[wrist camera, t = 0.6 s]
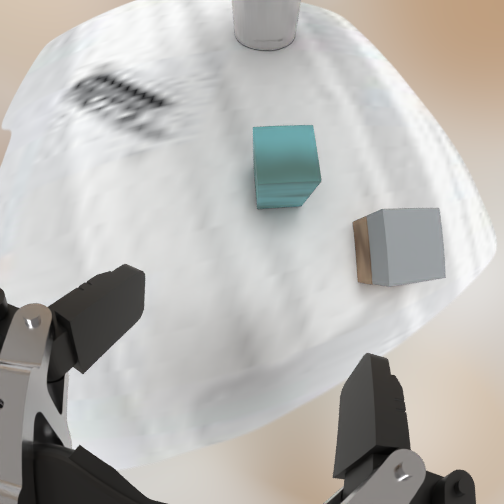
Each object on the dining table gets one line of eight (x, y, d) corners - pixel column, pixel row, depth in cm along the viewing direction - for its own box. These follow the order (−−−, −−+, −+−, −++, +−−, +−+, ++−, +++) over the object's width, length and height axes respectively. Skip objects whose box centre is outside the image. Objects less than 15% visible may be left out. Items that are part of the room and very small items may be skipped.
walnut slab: (352, 222, 31) (365, 216, 27) (402, 219, 31) (418, 214, 27) (357, 281, 31) (371, 284, 27) (407, 275, 30) (424, 277, 26)
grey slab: (366, 216, 27) (382, 208, 23) (419, 214, 27) (439, 207, 23) (372, 283, 27) (389, 286, 23) (424, 276, 26) (445, 277, 22)
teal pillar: (253, 166, 31) (252, 127, 21) (296, 164, 31) (312, 125, 21) (257, 209, 31) (257, 184, 21) (301, 206, 31) (321, 180, 21)
